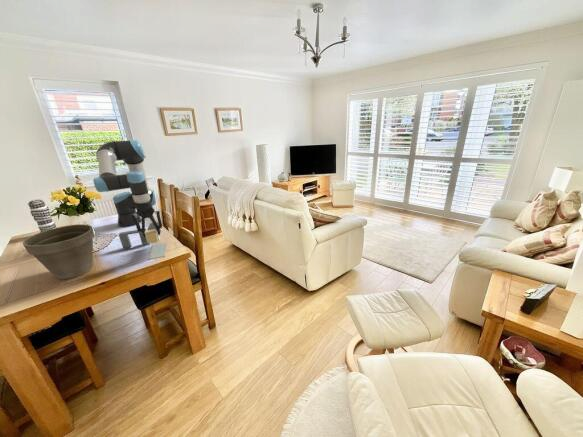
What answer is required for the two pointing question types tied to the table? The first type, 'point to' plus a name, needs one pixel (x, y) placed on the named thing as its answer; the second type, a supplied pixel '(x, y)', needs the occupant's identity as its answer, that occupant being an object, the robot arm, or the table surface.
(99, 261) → the table surface
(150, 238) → the two-tone upright block
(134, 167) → the robot arm
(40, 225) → the decorative candle
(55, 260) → the plant pot
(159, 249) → the mat
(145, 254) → the table surface
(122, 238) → the frame
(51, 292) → the table surface
